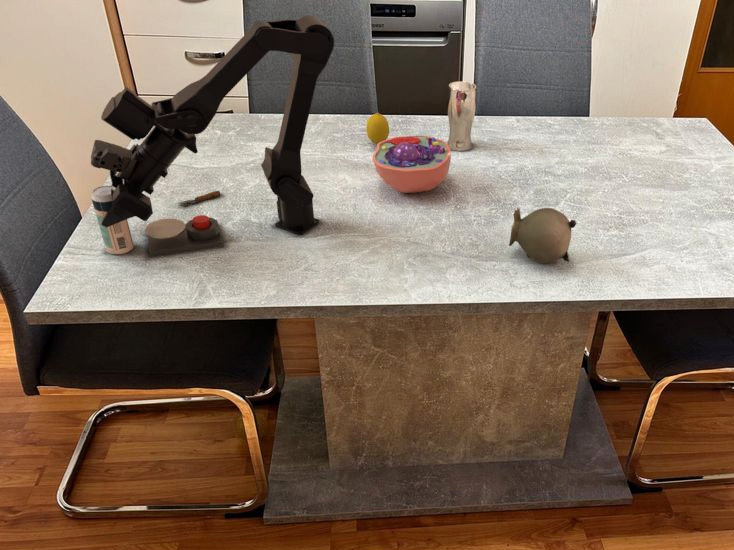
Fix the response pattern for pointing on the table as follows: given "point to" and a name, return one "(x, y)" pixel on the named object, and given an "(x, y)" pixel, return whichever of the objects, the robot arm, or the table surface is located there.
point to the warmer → (187, 240)
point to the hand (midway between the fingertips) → (103, 219)
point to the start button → (201, 222)
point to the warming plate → (165, 228)
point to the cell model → (412, 162)
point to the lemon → (377, 128)
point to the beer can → (117, 234)
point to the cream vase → (461, 114)
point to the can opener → (202, 197)
